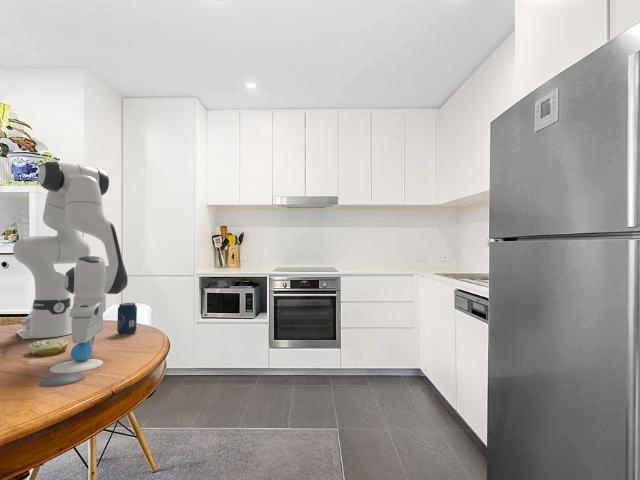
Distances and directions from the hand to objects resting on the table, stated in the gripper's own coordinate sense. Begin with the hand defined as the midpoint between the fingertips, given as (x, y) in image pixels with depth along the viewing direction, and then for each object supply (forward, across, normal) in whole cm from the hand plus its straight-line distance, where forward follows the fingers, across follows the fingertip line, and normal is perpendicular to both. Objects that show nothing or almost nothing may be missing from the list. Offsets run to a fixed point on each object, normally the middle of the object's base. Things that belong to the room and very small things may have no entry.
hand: (88, 350), depth 119 cm
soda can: (+2, -32, +5) cm, 33 cm away
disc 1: (+2, +23, 0) cm, 23 cm away
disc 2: (+2, +11, 0) cm, 11 cm away
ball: (-1, +6, 0) cm, 6 cm away
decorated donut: (+2, -8, -14) cm, 16 cm away
